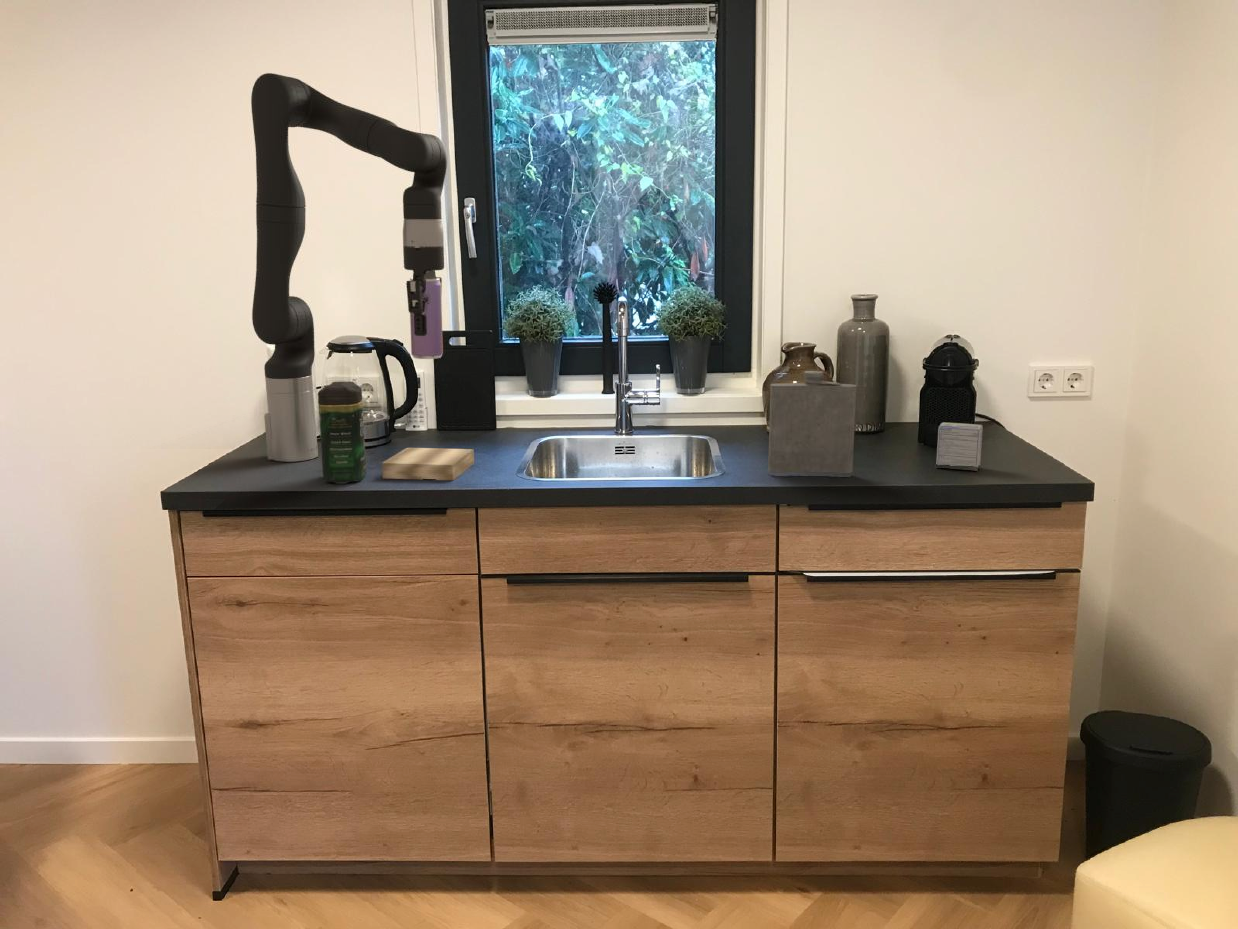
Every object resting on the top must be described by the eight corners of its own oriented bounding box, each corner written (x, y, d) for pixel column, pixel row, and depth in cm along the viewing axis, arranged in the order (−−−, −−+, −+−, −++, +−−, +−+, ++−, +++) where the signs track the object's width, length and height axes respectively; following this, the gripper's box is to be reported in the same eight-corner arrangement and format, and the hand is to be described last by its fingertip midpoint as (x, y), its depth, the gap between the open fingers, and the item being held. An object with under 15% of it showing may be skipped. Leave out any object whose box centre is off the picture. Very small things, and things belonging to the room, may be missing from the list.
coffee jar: (363, 484, 191) (356, 385, 187) (320, 485, 190) (312, 386, 186) (370, 472, 200) (364, 378, 196) (329, 473, 199) (322, 379, 195)
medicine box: (980, 467, 201) (983, 424, 199) (977, 472, 197) (981, 428, 195) (938, 464, 204) (941, 421, 202) (935, 468, 200) (938, 425, 198)
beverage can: (436, 359, 193) (434, 279, 189) (406, 358, 194) (403, 278, 190) (447, 355, 199) (445, 277, 195) (418, 354, 200) (416, 277, 196)
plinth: (382, 478, 195) (381, 462, 194) (408, 461, 208) (407, 447, 208) (453, 480, 193) (452, 465, 192) (474, 463, 206) (473, 449, 206)
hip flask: (768, 476, 195) (771, 372, 190) (767, 471, 199) (770, 369, 194) (853, 478, 193) (858, 373, 188) (850, 473, 197) (855, 370, 192)
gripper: (416, 243, 199) (419, 329, 203) (390, 244, 185) (394, 337, 189) (453, 243, 198) (456, 330, 202) (430, 245, 184) (433, 338, 188)
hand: (426, 333), depth 195 cm, fingers closed on beverage can, 6 cm apart
